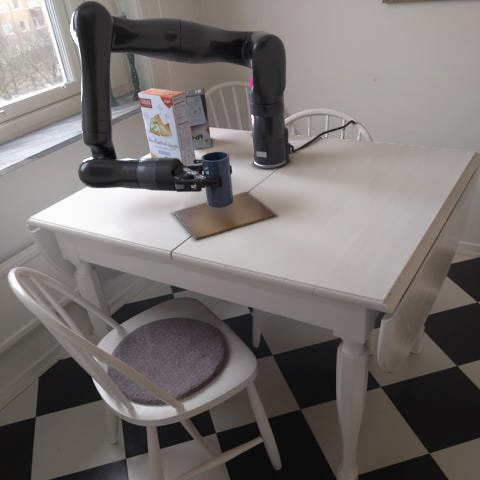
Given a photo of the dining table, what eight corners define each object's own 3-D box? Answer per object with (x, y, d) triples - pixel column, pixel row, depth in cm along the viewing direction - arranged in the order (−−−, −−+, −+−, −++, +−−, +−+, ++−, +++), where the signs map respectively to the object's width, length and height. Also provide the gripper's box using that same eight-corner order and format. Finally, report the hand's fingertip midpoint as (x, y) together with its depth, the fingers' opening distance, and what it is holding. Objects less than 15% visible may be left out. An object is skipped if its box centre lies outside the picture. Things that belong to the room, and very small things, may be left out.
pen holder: (227, 194, 120) (222, 149, 113) (237, 203, 116) (233, 157, 109) (203, 200, 119) (197, 155, 112) (213, 210, 114) (207, 163, 107)
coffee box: (211, 147, 159) (205, 94, 149) (192, 149, 159) (184, 96, 149) (210, 138, 166) (204, 87, 156) (191, 140, 166) (184, 89, 156)
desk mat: (246, 193, 128) (245, 191, 128) (274, 216, 116) (274, 214, 116) (173, 213, 122) (173, 212, 122) (196, 240, 111) (195, 238, 110)
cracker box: (151, 164, 151) (136, 92, 138) (166, 158, 155) (152, 86, 142) (183, 173, 143) (170, 96, 131) (197, 165, 147) (186, 91, 134)
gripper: (144, 170, 109) (216, 172, 105) (168, 147, 120) (234, 148, 116) (151, 202, 114) (220, 204, 109) (173, 177, 124) (237, 179, 120)
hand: (227, 175), depth 113 cm, fingers closed on pen holder, 6 cm apart
